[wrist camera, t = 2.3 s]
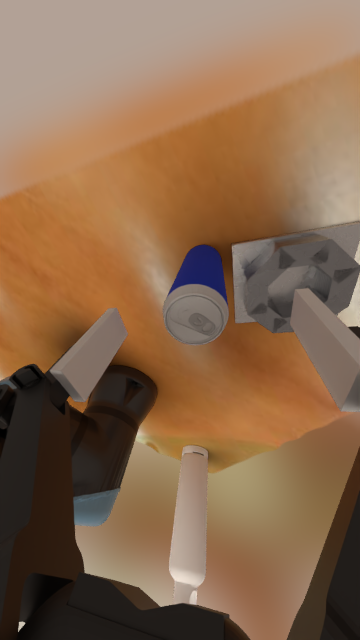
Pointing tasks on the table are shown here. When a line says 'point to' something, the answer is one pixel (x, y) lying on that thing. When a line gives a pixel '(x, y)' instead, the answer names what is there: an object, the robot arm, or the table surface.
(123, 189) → the table surface
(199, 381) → the table surface
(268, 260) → the socket
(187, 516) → the bottle
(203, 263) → the beverage can
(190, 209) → the table surface
